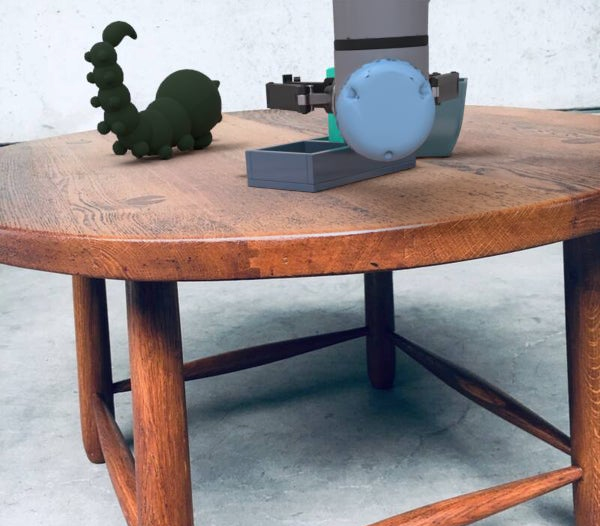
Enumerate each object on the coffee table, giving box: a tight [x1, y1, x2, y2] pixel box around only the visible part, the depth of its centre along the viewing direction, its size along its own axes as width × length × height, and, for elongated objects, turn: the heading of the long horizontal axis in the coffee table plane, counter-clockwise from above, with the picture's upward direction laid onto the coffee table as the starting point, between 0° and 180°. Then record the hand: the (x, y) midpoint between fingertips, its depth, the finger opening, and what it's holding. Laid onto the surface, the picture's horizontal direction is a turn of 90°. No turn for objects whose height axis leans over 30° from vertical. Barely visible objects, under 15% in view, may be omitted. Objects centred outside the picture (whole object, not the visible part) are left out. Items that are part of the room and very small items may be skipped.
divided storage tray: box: [244, 134, 417, 193], centre depth 101 cm, size 10×18×4 cm, turn 139°
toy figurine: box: [83, 20, 223, 160], centre depth 124 cm, size 9×19×25 cm
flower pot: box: [416, 77, 469, 158], centre depth 112 cm, size 9×9×9 cm
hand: (357, 85), depth 102 cm, fingers open, 13 cm apart
